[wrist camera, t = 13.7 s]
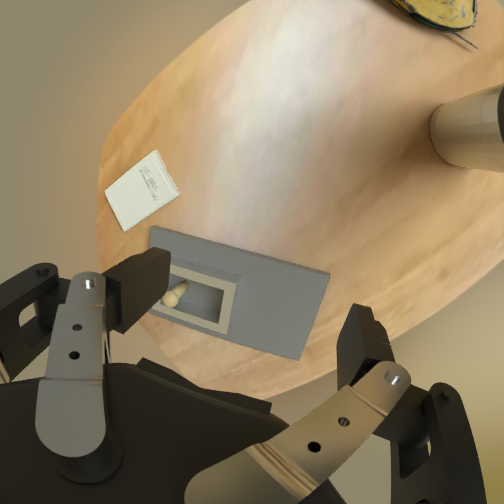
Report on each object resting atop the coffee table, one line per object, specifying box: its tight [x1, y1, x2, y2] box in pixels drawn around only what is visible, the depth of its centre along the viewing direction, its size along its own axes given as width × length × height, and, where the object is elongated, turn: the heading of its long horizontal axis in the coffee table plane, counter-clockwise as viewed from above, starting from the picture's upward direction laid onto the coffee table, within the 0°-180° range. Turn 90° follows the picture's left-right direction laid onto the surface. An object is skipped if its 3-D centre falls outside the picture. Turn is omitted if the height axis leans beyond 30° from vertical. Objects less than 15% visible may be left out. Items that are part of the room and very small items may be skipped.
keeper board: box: [147, 226, 330, 361], centre depth 41 cm, size 28×16×7 cm, turn 78°
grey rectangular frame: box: [152, 255, 242, 335], centre depth 43 cm, size 13×9×3 cm
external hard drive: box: [105, 150, 181, 232], centre depth 42 cm, size 2×8×12 cm
